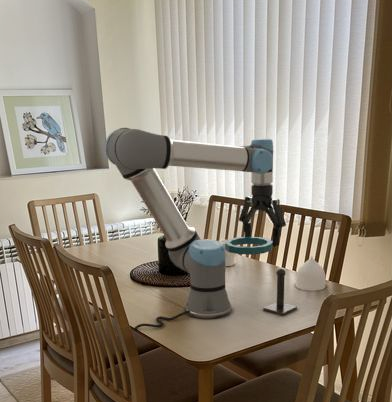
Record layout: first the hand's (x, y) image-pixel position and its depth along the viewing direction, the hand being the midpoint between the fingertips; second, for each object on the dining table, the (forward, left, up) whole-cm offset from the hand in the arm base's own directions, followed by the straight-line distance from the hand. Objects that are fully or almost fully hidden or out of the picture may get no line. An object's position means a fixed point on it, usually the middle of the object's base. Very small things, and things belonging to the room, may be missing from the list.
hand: (261, 243), depth 201 cm
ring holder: (-15, -20, -17) cm, 30 cm away
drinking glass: (+15, +31, -17) cm, 38 cm away
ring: (-8, 0, -1) cm, 8 cm away
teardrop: (+13, -14, -17) cm, 25 cm away
